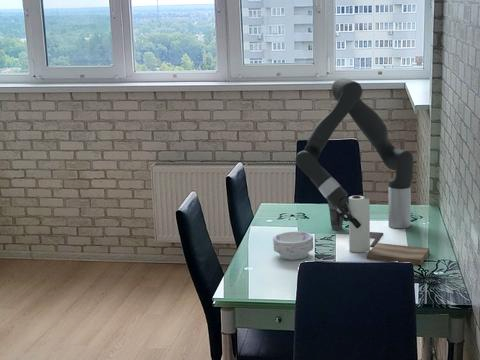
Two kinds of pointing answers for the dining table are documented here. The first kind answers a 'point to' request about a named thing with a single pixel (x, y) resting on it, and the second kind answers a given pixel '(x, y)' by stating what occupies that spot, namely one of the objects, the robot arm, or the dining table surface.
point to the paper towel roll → (361, 212)
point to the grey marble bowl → (293, 244)
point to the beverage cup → (335, 218)
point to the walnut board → (398, 253)
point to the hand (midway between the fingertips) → (362, 224)
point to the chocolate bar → (374, 238)
